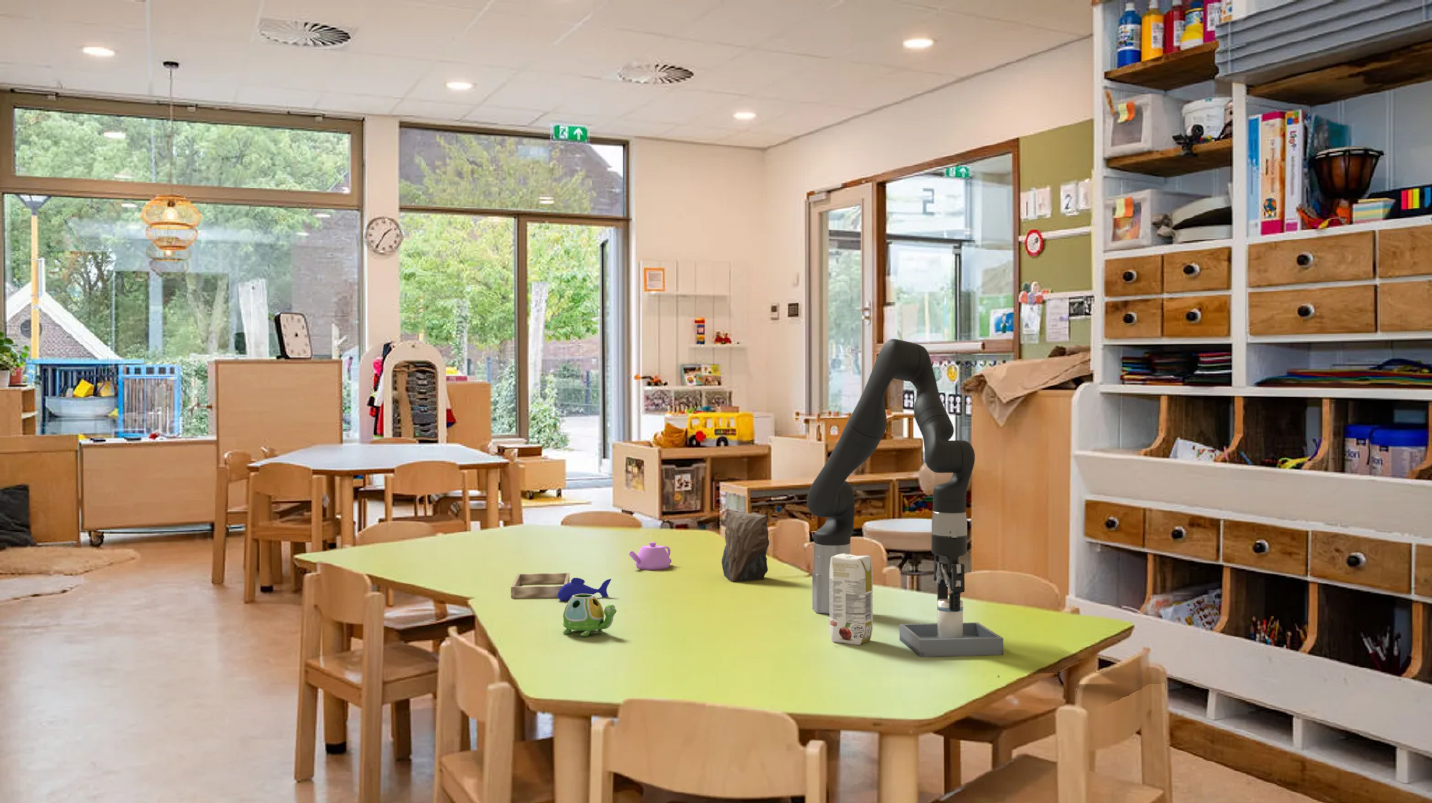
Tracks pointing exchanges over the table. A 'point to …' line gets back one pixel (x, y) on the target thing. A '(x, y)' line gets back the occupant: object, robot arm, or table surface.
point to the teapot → (652, 557)
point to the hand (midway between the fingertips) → (948, 607)
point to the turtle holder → (586, 614)
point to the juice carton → (851, 599)
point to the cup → (949, 620)
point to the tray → (951, 641)
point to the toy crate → (538, 590)
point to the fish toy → (581, 589)
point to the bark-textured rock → (745, 547)
